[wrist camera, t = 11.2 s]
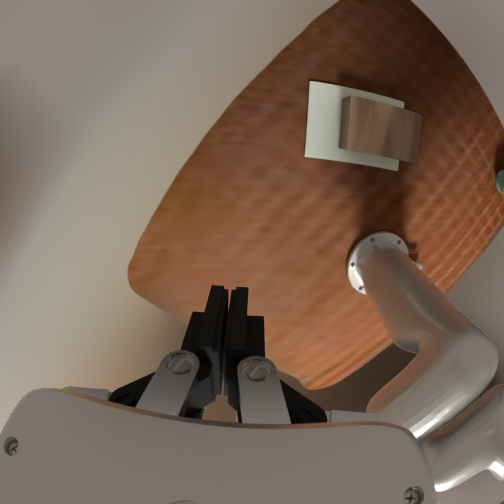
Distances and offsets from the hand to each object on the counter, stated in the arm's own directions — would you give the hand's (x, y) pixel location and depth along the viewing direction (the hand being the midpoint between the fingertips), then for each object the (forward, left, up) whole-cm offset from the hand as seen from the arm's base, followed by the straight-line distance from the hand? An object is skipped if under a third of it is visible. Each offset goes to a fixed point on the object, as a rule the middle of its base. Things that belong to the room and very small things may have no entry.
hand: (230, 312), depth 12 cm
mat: (-16, -11, -31) cm, 37 cm away
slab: (-13, -11, -28) cm, 33 cm away
